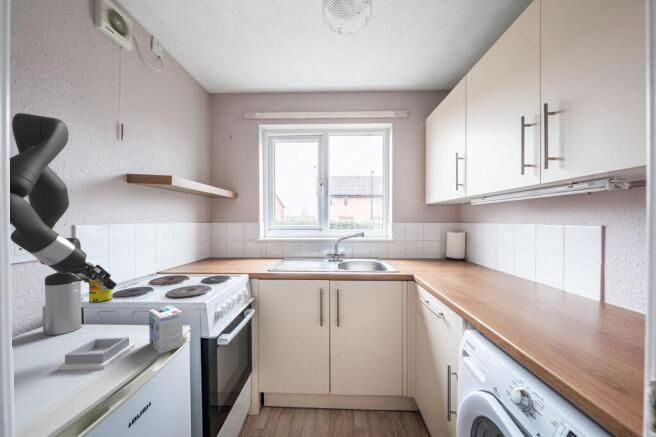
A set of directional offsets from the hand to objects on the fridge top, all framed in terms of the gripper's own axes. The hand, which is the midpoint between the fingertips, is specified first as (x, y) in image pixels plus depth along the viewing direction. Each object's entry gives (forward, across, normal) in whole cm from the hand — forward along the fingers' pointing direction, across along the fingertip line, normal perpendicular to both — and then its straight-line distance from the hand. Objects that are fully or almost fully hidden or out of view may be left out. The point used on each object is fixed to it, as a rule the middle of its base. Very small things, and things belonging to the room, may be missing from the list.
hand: (106, 286), depth 86 cm
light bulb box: (+17, -18, +10) cm, 27 cm away
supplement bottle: (+2, 0, +5) cm, 5 cm away
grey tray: (+9, -6, +18) cm, 21 cm away
